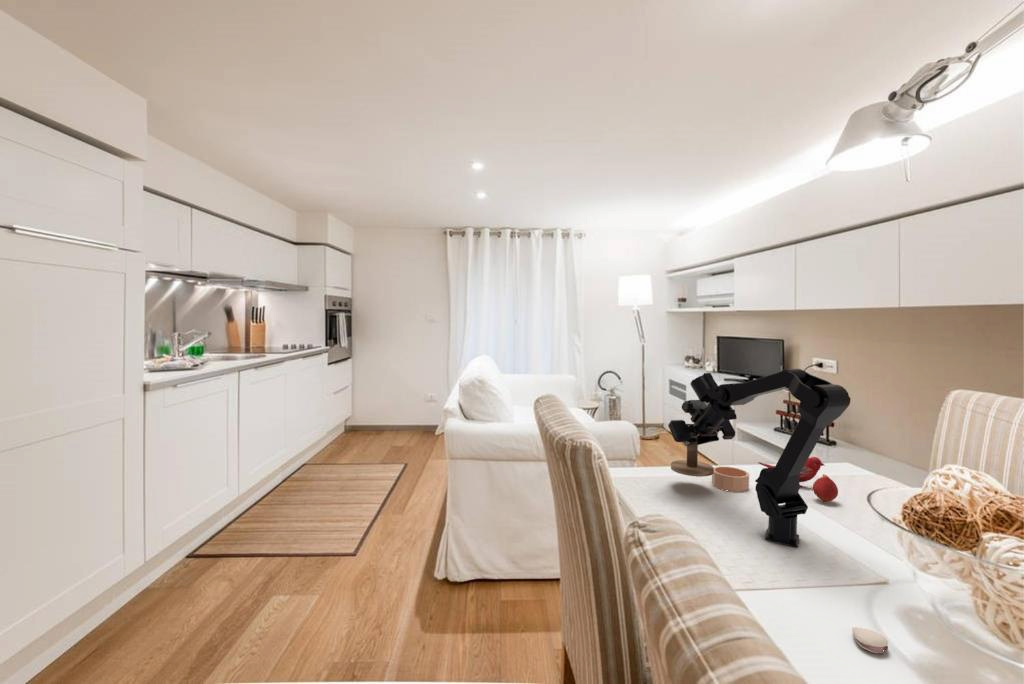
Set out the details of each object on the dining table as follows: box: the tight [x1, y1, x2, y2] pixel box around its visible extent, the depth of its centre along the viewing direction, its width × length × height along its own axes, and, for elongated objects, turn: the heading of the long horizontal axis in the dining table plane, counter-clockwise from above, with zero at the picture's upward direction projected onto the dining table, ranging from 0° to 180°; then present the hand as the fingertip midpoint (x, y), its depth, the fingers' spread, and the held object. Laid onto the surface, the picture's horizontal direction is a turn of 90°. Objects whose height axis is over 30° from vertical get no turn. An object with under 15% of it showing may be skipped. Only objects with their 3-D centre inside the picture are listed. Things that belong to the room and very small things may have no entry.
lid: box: [670, 436, 714, 478], centre depth 136 cm, size 12×12×11 cm
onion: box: [812, 473, 839, 503], centre depth 127 cm, size 6×6×8 cm
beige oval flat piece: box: [851, 626, 889, 654], centre depth 71 cm, size 4×5×2 cm
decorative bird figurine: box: [757, 456, 825, 488], centre depth 139 cm, size 3×18×10 cm, turn 64°
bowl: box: [711, 465, 750, 493], centre depth 139 cm, size 10×10×4 cm
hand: (689, 444), depth 137 cm, fingers closed on lid, 3 cm apart
